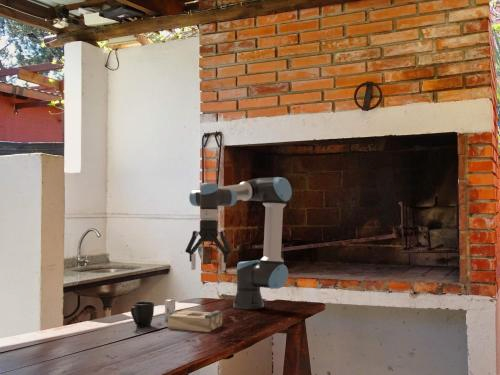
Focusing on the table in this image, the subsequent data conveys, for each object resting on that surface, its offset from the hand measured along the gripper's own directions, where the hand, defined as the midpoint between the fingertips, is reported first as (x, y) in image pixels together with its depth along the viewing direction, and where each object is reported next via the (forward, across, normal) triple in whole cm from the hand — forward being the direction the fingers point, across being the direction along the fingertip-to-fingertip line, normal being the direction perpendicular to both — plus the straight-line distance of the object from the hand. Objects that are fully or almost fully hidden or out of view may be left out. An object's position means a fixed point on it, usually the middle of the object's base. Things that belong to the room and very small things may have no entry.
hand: (208, 270), depth 234 cm
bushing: (+23, -19, +3) cm, 30 cm away
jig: (+23, -3, -5) cm, 24 cm away
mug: (+23, -25, -12) cm, 36 cm away
